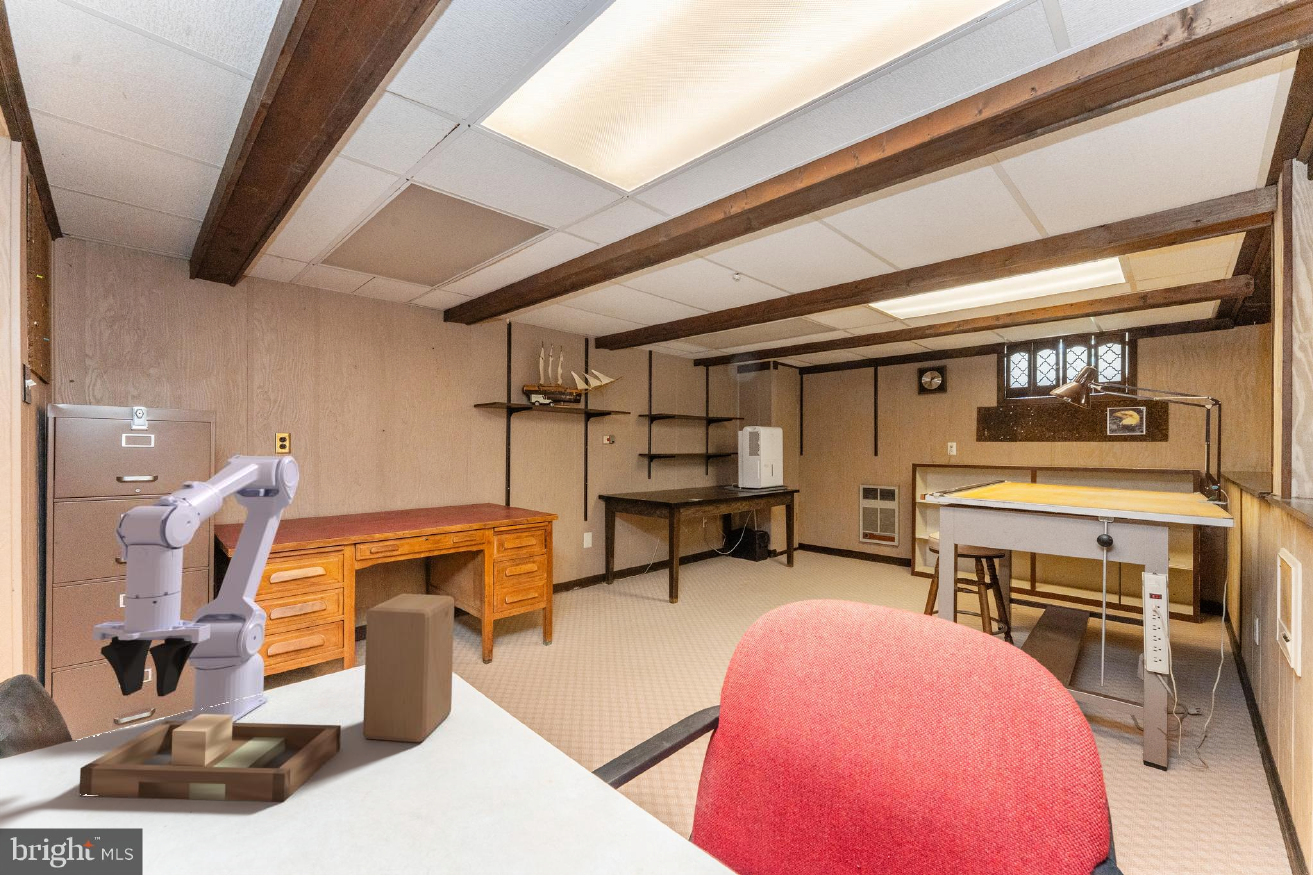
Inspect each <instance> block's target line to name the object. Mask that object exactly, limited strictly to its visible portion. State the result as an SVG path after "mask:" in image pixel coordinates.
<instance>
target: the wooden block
mask: <svg viewBox="0 0 1313 875" xmlns="http://www.w3.org/2000/svg"><path fill="white" fill-rule="evenodd" d="M454 617H455V599H454V596H450V595H439V594H438V595H437V594H420V593H419V594H418V593H417V594H416V593H401V594H399V595H396V596H394V597H392V598H390V599H388V600H386V601H384V602H382V603H381V602H380V603H379V604H377V605H374V606H373V607H370V608H369V609H368V611H367V613H366V624H365V625H366V628H365V630H366V631H365V660H364V661H365V663H364V664H365V666H364V692H363V693H364V694H363V695H364V696H363V720H362V721H363V722H362V725H363V726H362V727H363V728H362V731H363V732H362V734H363V737H364V738H366V739H368V740H369V739H370V740H371V739H372V740H383V741H393V742H394V741H397V742H408V743H409V742H410V743H420V742H423V741H425V740H426V739H427V738H428V737H429V736H430V735H431V734H432V733H433V732H434V731H435V730H436V729H437V728H439V726H440V725H441V724H442V722H444V721H445V720H446V719H447V718H448V717H449V716H450V713H451V712H452V696H453V694H452V693H453V691H452V690H453V662H454V661H453V658H454V656H453V655H454V654H453V653H454V628H455V627H454V626H455V624H454V621H455V618H454Z"/></svg>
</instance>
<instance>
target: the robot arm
mask: <svg viewBox="0 0 1313 875" xmlns="http://www.w3.org/2000/svg"><path fill="white" fill-rule="evenodd" d="M299 480H300V472H299V465H298V463H297V461H296V459H294V457H293V456H291V455H285V456H284V455H283V456H271V455H270V456H267V455H265V456H264V455H263V456H262V455H259V456H258V455H254V456H253V455H241V454H236V455H234V456H231V458H228V459H226V460H225V463H224V466H223V468H222V469H221V470H220V471H219V472H217V473H216V474H215V475H213V476H212V477H211V478H209V479H207V480H206V481H205V482H204V481H197V480H194V481H193V480H192V481H191V480H190V481H189V480H187V481H185V482H183V483H181V487H180V488H179V489H177V490H175V491H173V492H172V493H170V494H168V495H164V496H161V497H159V499H158V500H157V501H156V502H154V503H152V504H151V505H140V506H135V507H133V508H132V509H130V510H128V511H126V512H125V513H124V514H123V515H122V516H121V518H120V519H119V522H118V525H117V528H115V529H114V536H115V539H116V542H117V543H118V544H119V546H120V548H121V559H122V561H124V562H126V569H125V570H126V575H125V594H124V616H123V618H124V619H123V621H107V622H103V623H100V624H97V625H94V626H93V629H92V630H93V631H92V641H94V642H95V641H97V642H98V641H104V640H111V641H110V642H109V644H107V645H105V646H102V647H101V648H100V654H101V655H102V656H103V657H104V658H105V659H106V660H107V662H108V663H109V664H110V666H111V668H112V670H113V671H114V673H115V675H116V676H115V677H116V679H117V682H118V685H119V688H120V690H121V694H122V696H124V697H127V696H130V695H132V694H134V693H136V692H138V691H141V690H142V688H143V685H144V682H145V670H146V669H145V668H146V662H147V658H148V655H149V654H148V653H150V656H151V657H152V661H153V663H154V667H155V672H156V679H155V680H156V682H155V683H156V693H157V697H162V698H163V697H165V696H167V695H171V693H174V692H175V691H176V690H177V687H178V684H179V682H180V678H181V676H182V674H183V670H184V668H185V665H186V663H187V661H189V664H188V665H189V667H194V672H193V673H194V676H193V699H192V700H193V701H192V702H193V704H192V706H193V708H192V713H191V714H189V715H188V716H185V717H184V718H183V719H181V720H180V721H190V720H192V719H194V718H195V717H197V716H199V715H200V714H216V715H233V720H232V723H235V722H236V721H238V720H239V719H241V718H242V717H244V716H245V715H247V714H248V713H250V712H252V711H253V710H255V709H256V708H258V707H259V706H261V705H262V704H264V703H266V702H268V700H269V697H266V696H264V685H265V684H264V683H265V679H264V677H265V663H264V662H265V661H264V659H263V657H262V656H261V654H260V653H258V652H259V651H260V649H261V648H262V646H263V643H264V639H265V637H266V636H265V634H266V632H265V631H266V630H265V628H266V621H267V617H268V615H267V613H266V611H265V610H264V609H263V608H261V606H259V605H258V604H257V603H256V602H255V598H256V595H257V592H258V590H259V586H260V584H261V580H262V576H263V575H264V571H265V568H266V565H267V561H268V559H269V556H270V553H271V550H272V547H273V543H274V542H275V541H274V540H275V538H276V534H277V531H278V528H279V525H280V522H281V519H282V517H283V513H284V509H285V508H286V507H288V506H290V505H291V504H292V503H293V498H294V496H295V493H296V490H297V488H298V484H299ZM232 495H233V497H234V499H235V501H236V502H237V504H238V505H240V506H242V507H244V508H246V509H247V514H246V516H245V520H244V522H243V526H242V528H241V532H240V534H239V536H238V539H237V542H236V545H235V548H234V550H233V553H232V557H231V559H230V562H229V564H228V567H227V570H226V572H225V575H224V578H223V581H222V583H221V587H220V590H219V592H218V594H217V597H216V598H214V600H212V601H210V602H209V603H207V604H204V605H203V606H202V607H200V608H198V609H197V610H196V611H195V615H194V616H193V619H192V620H191V621H189V620H183V619H181V611H182V610H181V609H182V585H183V561H184V560H183V559H184V546H186V545H188V544H190V542H191V541H192V538H193V537H194V535H195V532H196V530H197V529H198V528H199V527H200V525H201V523H203V522H204V521H207V519H210V517H212V516H213V515H215V514H216V513H218V511H220V510H221V508H222V506H223V500H224V499H226V498H228V497H230V496H232ZM153 641H164V642H163V643H160V644H157V645H155V646H152V647H151V645H152V642H153ZM261 693H263V694H262V695H257V694H261ZM252 695H256V696H254V697H249V696H252ZM244 697H249V698H245V699H243V698H244ZM236 699H238V700H236ZM235 700H236V701H235ZM226 702H229V703H226ZM222 703H225V704H222ZM218 704H220V705H218ZM215 705H217V706H215ZM210 706H213V707H210ZM202 708H203V709H202ZM201 709H202V710H201Z"/></svg>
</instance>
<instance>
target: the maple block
mask: <svg viewBox="0 0 1313 875" xmlns="http://www.w3.org/2000/svg"><path fill="white" fill-rule="evenodd" d="M232 720H233V715H216V714H200V715H199V716H197V717H195V718H194V719H192V720H190V721H188V722H187V723H185V724H183V725H181V726H180V727H178V728H176V729H174V730H173V734H172V760H171V765H201V766H205V765H206V764H208V763H209V762H211V761H212V760H214V759H215V758H217V757H218V756H219V755H221V754H222V753H224V752H225V751H227V750H228V749H230V748H231V747H232Z"/></svg>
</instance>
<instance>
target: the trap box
mask: <svg viewBox="0 0 1313 875" xmlns="http://www.w3.org/2000/svg"><path fill="white" fill-rule="evenodd" d="M187 722H188V721H181V720H179V721H178V720H166V721H164V722H162V723H160V724H158V725H156V726H155V727H153V728H151V729H149V730H147V731H145V732H143V733H142V734H140V735H138V736H137V737H134V738H133V739H131V740H129V741H127V742H126V743H124V744H122V745H120V746H118V747H116V748H114V749H113V750H111V751H109V752H107V753H106V754H104V755H101V756H100V757H98V758H96V759H95V760H93V761H91V762H89V763H87V764H85V765H83V766H82V767H80V768H79V769H80V770H79V791H78V792H79V794H81V795H85V794H87V795H98V796H102V797H101V798H125V799H126V798H130V799H131V798H132V799H163V800H164V799H165V800H166V799H170V800H171V799H172V800H174V799H175V800H208V801H212V800H213V801H238V802H240V801H243V802H248V801H249V802H275V803H276V802H278V803H279V802H281V803H283V802H284V803H285V801H286V800H288V799H289V798H290V797H291V795H293V793H295V792H296V791H297V790H298V789H300V787H301V786H303V785H304V784H305V782H307V781H308V780H309V779H310V778H311V777H313V775H314V774H315V773H316V772H317V771H318V770H320V769H321V768H322V767H323V766H324V765H325V764H326V763H327V762H328V761H330V759H331V758H332V757H333V756H335V755H336V754H337V753H338V752H339V751H340V750H341V733H342V732H341V730H342V727H341V726H342V725H340V724H339V725H338V724H337V725H336V724H304V723H303V724H302V723H299V724H298V723H297V724H296V723H268V722H267V723H263V722H262V723H259V722H233V723H232V747H231V748H230V749H228V750H227V751H225V752H224V753H222V754H221V755H219V756H218V757H217V758H215V759H214V760H212V761H211V762H209V763H208V764H206V765H205V766H201V765H171V760H172V734H173V730H174V729H176V728H178V727H180V726H181V725H183V724H185V723H187ZM79 794H78V795H79ZM104 796H105V797H104Z"/></svg>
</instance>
